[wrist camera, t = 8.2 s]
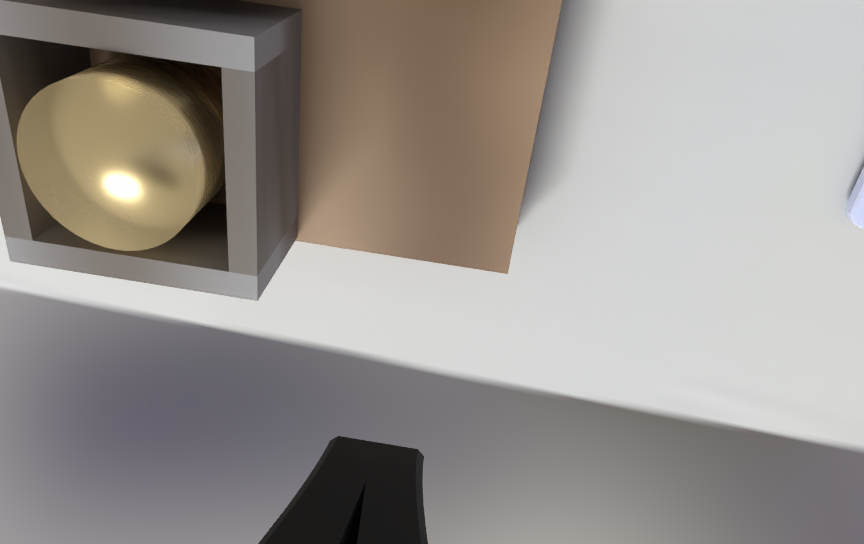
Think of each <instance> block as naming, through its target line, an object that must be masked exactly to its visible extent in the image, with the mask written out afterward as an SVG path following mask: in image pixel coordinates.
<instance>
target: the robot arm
mask: <svg viewBox="0 0 864 544" xmlns="http://www.w3.org/2000/svg"><path fill="white" fill-rule="evenodd" d="M846 214H847V217H848V218H849V219H850V220H851V221H852V222H853V223H854V224H855V225H856V226H858V227H861V228H863V229H864V167H863V169H862V171H861V174H860V176H859V178H858V180H857V182H856V184H855V187H854V189H853V191H852V193H851V195H850V197H849V200H848V202H847V205H846ZM423 459H424V456H423V455H422V454H421V453H420V451H419V450H418V449H413V448H407V447H401V446H395V445H389V444H383V443H377V442H370V441H365V440H359V439H352V438H346V437H341V436H338V437H336V438H334V439H332V440H331V441H330V442H329V444H328V446H327V448H326V450H325V451H324V453H323V455H322V456H321V458H320V460H319V461H318V463H317V465H316V466H315V468H314V469H313V471H312V472H311V474H310V475H309V477H308V478H307V480H306V481H305V482H304V484H303V485H302V487H301V488H300V490H299V491H298V492H297V494H296V495H295V497H294V498H293V499H292V501H291V502H290V504H289V505H288V506H287V508H286V509H285V510H284V512H283V513H282V514H281V515H280V517H279V518H278V519H277V521H276V522H275V523H274V524H273V526H272V527H271V528H270V529H269V531H268V532H267V533H266V535H265V536H264V537H263V538H262V540H261V541H260V542H259V544H428V541H427V534H426V526H425V516H424V506H423V490H422V489H423V488H422V474H423V473H422V471H423Z"/></svg>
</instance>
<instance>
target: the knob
mask: <svg viewBox="0 0 864 544" xmlns="http://www.w3.org/2000/svg"><path fill="white" fill-rule="evenodd" d="M17 151H18V158H19V162H20V166H21V169H22V171H23V174H24V177H25V179H26V181H27V183H28V185H29V187H30V189H31V190H32V192H33V193H34V195H35V196H36V198H37V199H38V201H39V202H40V203H41V204H42V206H43V207H44V208H45V209H46V210H47V211H48V212H49V214H50V215H51V216H52V217H53V218H54V219H56V220H57V221H58V222H59V223H60V224H62V225H63V226H64V227H65V228H67V229H68V230H70V231H71V232H73V233H74V234H76V235H78V236H79V237H81V238H83V239H85V240H87V241H89V242H92V243H94V244H97V245H100V246H103V247H106V248H110V249H115V250H123V251H139V250H146V249H150V248H153V247H157V246H159V245H161V244H163V243H165V242H167V241H168V240H170V239H171V238H173V237H174V236H175V235H176V234H177V233H178V232H179V231H180V230H181V229H182V228H183V227H184V226H185V225H186V224H187V223H188V222H189V221H190V220H191V219H192V218H193V217H194V216H195V215H196V214H197V213H198V212H199V211H200V210H201V209H202V208H203V207H204V206H205V205H206V204H207V203H208V202H209V201H210V200H211V199H212V198H213V197H214V196H215V194H216V193H217V192H218V191H219V190H220V189H221V188H222V187H223V186H224V185H225V184H226V180H225V153H224V126H223V99H222V72H221V70H220V69H219V68H217V67H216V66H210V65H203V64H196V63H189V62H183V61H176V60H169V59H162V58H155V57H149V56H142V55H135V54H128V53H123V54H121V55H119V56H116V57H114V58H112V59H109V60H107V61H105V62H102V63H100V64H98V65H95V66H93V67H90V68H88V69H86V70H83V71H81V72H79V73H76V74H74V75H72V76H69V77H67V78H65V79H62V80H60V81H58V82H55V83H53V84H51V85H49V86H47V87H45V88H44V89H42V90H40V91H39V92H38V93H37V94H36V95H35V96H34V97H32V99H31V100H30V101H29V103H28V104H27V105H26V107H25V109H24V111H23V113H22V115H21V118H20V121H19V124H18V130H17Z"/></svg>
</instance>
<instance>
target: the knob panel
mask: <svg viewBox="0 0 864 544" xmlns="http://www.w3.org/2000/svg"><path fill="white" fill-rule="evenodd" d="M561 5H562V0H0V216H1V221H2V226H3V230H4V235H5V239H6V244H7V248H8V253H9V257H10V261H12V262H19V263H25V264H31V265H37V266H44V267H50V268H56V269H63V270H69V271H75V272H81V273H88V274H94V275H100V276H106V277H113V278H119V279H125V280H131V281H138V282H144V283H150V284H156V285H163V286H169V287H175V288H181V289H188V290H194V291H200V292H206V293H213V294H219V295H225V296H231V297H238V298H244V299H250V300H256V301H258V299H259V298H260V296H261V294H262V293H263V291H264V290H265V288H266V286H267V285H268V283H269V282H270V280H271V278H272V277H273V275H274V274H275V272H276V270H277V269H278V267H279V266H280V264H281V262H282V261H283V259H284V258H285V256H286V254H287V253H288V251H289V250H290V248H291V246H292V245H293V243H294V242H295V241H301V242H307V243H314V244H320V245H327V246H333V247H339V248H346V249H352V250H359V251H365V252H371V253H378V254H384V255H391V256H397V257H403V258H410V259H416V260H423V261H429V262H435V263H442V264H448V265H454V266H461V267H467V268H474V269H480V270H486V271H493V272H499V273H506V274H508V269H509V264H510V259H511V254H512V249H513V244H514V239H515V234H516V229H517V224H518V219H519V214H520V209H521V204H522V199H523V194H524V189H525V184H526V179H527V174H528V169H529V164H530V159H531V154H532V149H533V144H534V139H535V134H536V129H537V124H538V119H539V114H540V109H541V105H542V100H543V95H544V90H545V85H546V80H547V75H548V70H549V65H550V60H551V55H552V50H553V45H554V40H555V35H556V30H557V25H558V20H559V15H560V10H561ZM123 53H128V54H135V55H142V56H149V57H155V58H162V59H169V60H176V61H183V62H189V63H196V64H203V65H210V66H216V67H217V68H219V69H220V70H221V72H222V99H223V126H224V153H225V180H226V184H225V185H224V186H223V187H222V188H221V189H220V190H219V191H218V192H217V193H216V194H215V196H214V197H213V198H212V199H211V200H210V201H209V202H208V203H207V204H206V205H205V206H204V207H203V208H202V209H201V210H200V211H199V212H198V213H197V214H196V215H195V216H194V217H193V218H192V219H191V220H190V221H189V222H188V223H187V224H186V225H185V226H184V227H183V228H182V229H181V230H180V231H179V232H178V233H177V234H176V235H175V236H174V237H173V238H171V239H170V240H168V241H167V242H165V243H163V244H161V245H159V246H157V247H153V248H150V249H146V250H139V251H123V250H115V249H110V248H106V247H103V246H100V245H97V244H94V243H92V242H89V241H87V240H85V239H83V238H81V237H79V236H78V235H76V234H74V233H73V232H71V231H70V230H68V229H67V228H65V227H64V226H63V225H62V224H60V223H59V222H58V221H57V220H56V219H54V218H53V217H52V216H51V215H50V214H49V212H48V211H47V210H46V209H45V208H44V207H43V206H42V204H41V203H40V202H39V201H38V199H37V198H36V196H35V195H34V193H33V192H32V190H31V189H30V187H29V185H28V183H27V181H26V179H25V177H24V174H23V171H22V169H21V166H20V162H19V158H18V151H17V130H18V124H19V121H20V118H21V115H22V113H23V111H24V109H25V107H26V105H27V104H28V103H29V101H30V100H31V99H32V97H34V96H35V95H36V94H37V93H38V92H39V91H40V90H42V89H44V88H45V87H47V86H49V85H51V84H53V83H55V82H58V81H60V80H62V79H65V78H67V77H69V76H72V75H74V74H76V73H79V72H81V71H83V70H86V69H88V68H90V67H93V66H95V65H98V64H100V63H102V62H105V61H107V60H109V59H112V58H114V57H116V56H119V55H121V54H123Z"/></svg>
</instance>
